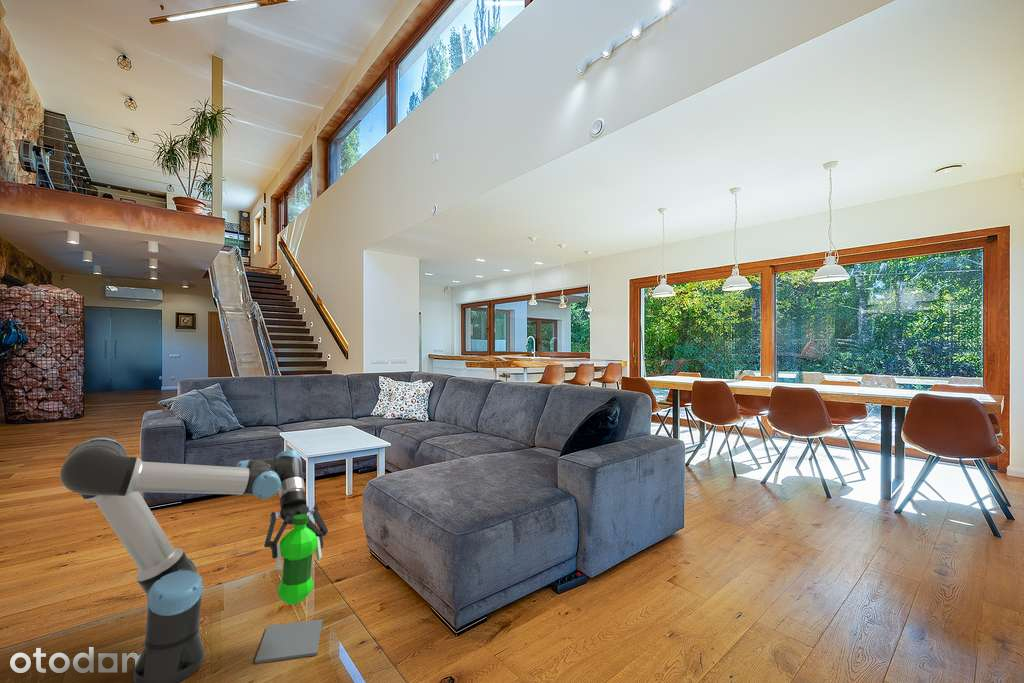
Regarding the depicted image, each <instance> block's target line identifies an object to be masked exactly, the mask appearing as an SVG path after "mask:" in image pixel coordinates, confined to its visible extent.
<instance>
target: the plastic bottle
mask: <svg viewBox="0 0 1024 683" xmlns="http://www.w3.org/2000/svg"><path fill="white" fill-rule="evenodd" d="M308 518H309V519H310V517H309V515H308V513H307V514H299V515H295V516H294V517H293V524H292V525H294V528H292V529H291V530H290V531H289V532H287V533H286V534H285V535H284V536H283V537H282V538H281V539H280V542H279V544H280V551H281V558H283V561H282V562H283V563H282V576H281V579H280V581H279V583H278V586H277V593H278V598H279V599H280V600H281V601H282V602H284V603H285V604H288V605H297V604H300V603H302V601H304V600H305V599H307V597H308V596H309V595H310V594H311V593H312V591H313V588H314V582H313V578H312V575H311V574H312V563H313V562H312V561H313V554H314V553H315V552H316V548H317V544H318V540H317V537H316V535H315V533H314V532H313V531H312V530H310V529H309V528H307V527H306V524H307V523H308Z"/></svg>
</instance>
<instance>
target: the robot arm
mask: <svg viewBox="0 0 1024 683" xmlns="http://www.w3.org/2000/svg"><path fill="white" fill-rule="evenodd" d="M59 478H60V481H61V483H62V485H63V486H64V487H65V488H66V489H67V490H68V491H70V492H73V493H75V494H79V495H81V497H82V499H83V500H84V501H93V502H94V503H95V504H96V505H97V507H98V509H99V510H100V512H101V513H102V515H103V516H104V517H105V519H106V521H107V523H108V524H109V526H110V528H111V529H112V531H113V532H114V533H115V535H116V536H117V538H118V539H119V542H120V543H121V544H122V546H123V548H125V550H126V552H127V554H128V556H130V558H131V560H132V561H133V562H134V565H135V566H136V567H137V569H138V571H137V574H136V576H135V580H136V581H137V582H138V584H139V586H140V587H141V589H142V591H143V592H144V593H145V595H146V597H147V598H146V599H147V600H146V606H147V607H146V610H147V611H146V623H145V624H146V625H145V636H144V638H145V639H144V646H143V649H142V651H141V653H140V656H139V657H138V660H137V662H136V664H135V666H134V670H133V677H132V679H133V680H132V681H133V683H180V682H182V681H184V680H185V679H187V678H189V677H190V676H191V675H194V673H196V672H197V671H198V670H199V668H200V667H201V666H202V665H203V662H204V661H205V659H204V658H205V647H204V644H203V640H202V638H201V635H200V630H199V629H200V620H201V619H200V618H201V609H202V608H201V606H202V595H203V590H204V584H203V578H202V576H201V575H200V574H199V573H198V572H197V567H196V565H195V563H194V561H192V560H191V559H190V558H189V557H188V556H187V555H186V553H185V551H184V550H183V548H179V547H177V548H174V546H173V545H172V543H171V541H170V540H169V538H168V537H167V535H166V534H165V531H164V530H163V528H162V526H161V525H160V524H159V522H158V520H157V519H156V517H155V515H154V513H153V511H151V509H150V507H149V506H148V504H147V503H146V501H145V499H144V497H143V496H142V495H141V493H163V494H164V493H165V494H167V493H169V494H170V493H171V494H204V495H205V494H208V495H209V494H210V495H215V494H216V495H245V496H254V497H257V498H259V499H261V500H267V499H270V498H272V497H274V496H275V495H277V493H278V492H279V493H278V494H279V505H280V506H279V507H280V511H279V512H275V511H272V512H271V513H270V516H269V522H270V523H269V526H268V530H267V534H266V538H265V541H264V544H263V545H264V548H269V549H271V557H272V558H271V559H273V560H274V559H275V560H276V570H277V571H280V570H281V568H283V563H282V556H281V551H280V543H278V542H279V540H281V537H282V535H283V533H284V531H285V530H286V527H287V526H288V525H294V524H293V517H294V516H295V515H299V514H307V515H308V513H310V515H311V516H312V517H313V520H314V521H315V523H314V522H313V521H312V519H310V517H309V518H308V523H307V524H306V527H307V528H309V529H310V530H312V531H313V532H314V533H315V535H316V537H317V540H318V544H317V548H316V550H315V554H316V562H320V561H321V560H322V558H323V556H322V555H323V554H322V549H323V547H324V537H325V536H327V534H328V532H329V529H328V528H327V525H326V523H325V521H324V520H323V518H322V516H321V514H320V512H319V507H318V505H316V504H315V505H314V506H312V507H311V506H310V507H309V506H308V503H307V496H306V488H305V480H304V473H303V462H302V458H301V453H300V451H298V450H295V449H287V450H284V451H281V452H279V453H278V454H277V455H276V457H275V458H263V459H247V460H239V461H238V462H237V464H236V465H235V466H221V465H205V464H187V463H174V462H173V463H172V462H157V461H155V462H154V461H153V462H152V461H143V460H141V459H140V458H139V457H137V456H127V452H126V449H125V447H124V446H123V445H122V444H121V443H120V442H118V441H116V440H114V439H111V438H107V437H98V438H92V439H89V440H86V441H84V442H82V443H80V444H79V445H78V444H77V446H75V447H73V449H72V450H70V452H69V453H68V455H67V456H66V460H65V461H64V462H63V464H62V466H61V468H60V472H59ZM279 517H280V518H281V519H282V520H283V522H282V524H281V526H280V528H279V530H278V532H277V534H276V535H275V537H274V539H273V540H272V538H273V537H272V536H273V533H274V528H275V525H276V521H278V519H279Z"/></svg>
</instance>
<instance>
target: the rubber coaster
mask: <svg viewBox="0 0 1024 683" xmlns="http://www.w3.org/2000/svg"><path fill="white" fill-rule="evenodd" d="M323 621H324V620H323V618H322V619H313V620H303V621H296V622H286V623H280V624H279V623H278V624H271V625H267V627H266V629H265V631H264V635H263V638H262V640H261V643H260V645H259V649H258V651H257V653H256V656H255V658H254V659H255V660H254V664H262V663H269V662H276V661H283V660H284V661H285V660H291V659H292V660H293V659H298V658H305V657H306V658H307V657H312V656H313V657H314V656H318V650H319V645H320V639H321V632H322V627H323V623H324V622H323ZM322 622H323V623H322Z"/></svg>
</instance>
